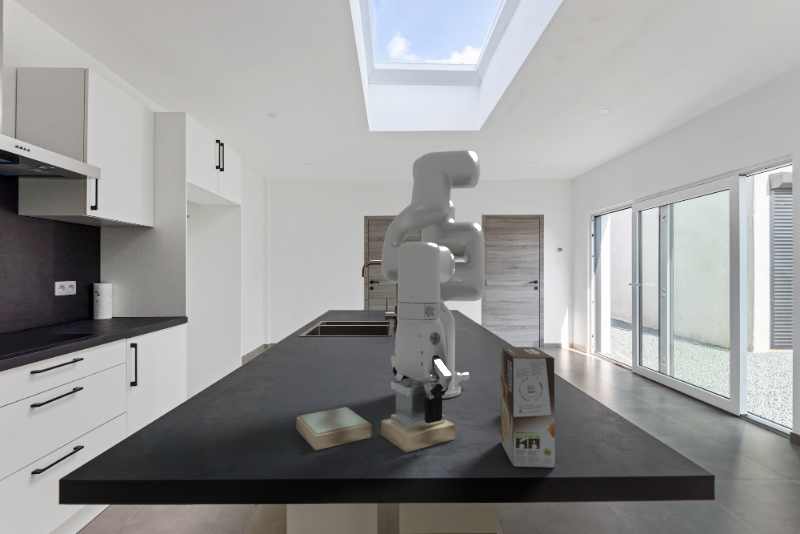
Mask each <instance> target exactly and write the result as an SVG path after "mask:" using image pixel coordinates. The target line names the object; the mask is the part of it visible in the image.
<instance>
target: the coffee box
mask: <svg viewBox="0 0 800 534" xmlns="http://www.w3.org/2000/svg"><path fill="white" fill-rule="evenodd" d="M499 354H500V355H499V356H500V359H499V361H500V368H499V369H500V373H499V374H500V443H501V445H502V447H503V449H504V451H505V453H506V455H507V457H508V459H509V461H510V463H511V464H512V466H513V467H519V468H521V467H522V468H523V467H524V468H525V467H526V468H528V467H529V468H551V469H552V468H554V467H555V465H556V464H555V461H556V459H555V458H556V457H555V456H556V455H555V454H556V446H555V445H556V443H555V442H556V439H555V438H556V435H555V434H556V433H555V432H556V431H555V430H556V429H555V428H556V425H555V424H556V422H555V418H556V417H555V416H556V411H555V410H556V409H555V408H556V407H555V403H556V402H555V400H556V399H555V396H556V395H555V394H556V393H555V388H556V387H555V357H554V356H552V355H550V354H548V353H547V352H544V351H542V350H541V349H539V348H537V347H532V346H531V347H529V346H523V347H522V346H517V347H516V346H511V347H508V346H506V347H502V346H501V347H500V352H499Z"/></svg>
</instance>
